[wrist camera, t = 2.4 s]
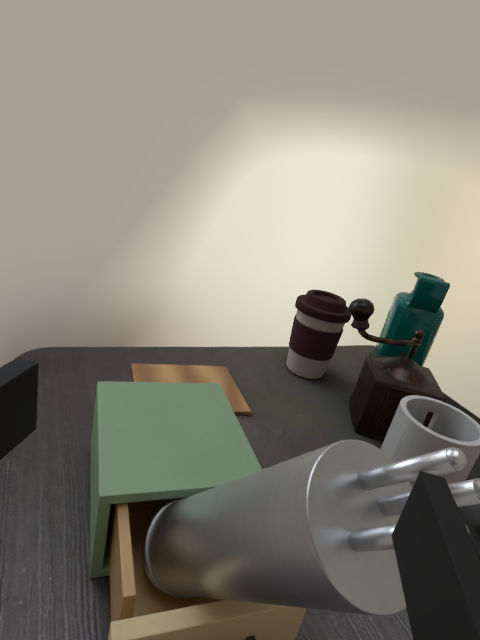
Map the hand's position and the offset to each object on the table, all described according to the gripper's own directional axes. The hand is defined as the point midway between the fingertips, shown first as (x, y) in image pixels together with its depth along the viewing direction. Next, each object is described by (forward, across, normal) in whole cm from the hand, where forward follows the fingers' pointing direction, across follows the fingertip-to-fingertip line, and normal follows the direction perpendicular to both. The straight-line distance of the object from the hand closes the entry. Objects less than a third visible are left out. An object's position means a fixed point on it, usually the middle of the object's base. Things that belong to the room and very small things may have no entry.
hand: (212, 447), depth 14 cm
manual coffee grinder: (+48, +18, -24) cm, 57 cm away
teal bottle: (+66, +25, -24) cm, 74 cm away
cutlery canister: (+13, -2, -20) cm, 24 cm away
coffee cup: (+60, +8, -24) cm, 65 cm away
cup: (+32, +21, -24) cm, 45 cm away
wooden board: (+42, -10, -24) cm, 49 cm away
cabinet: (+21, -6, -24) cm, 33 cm away
